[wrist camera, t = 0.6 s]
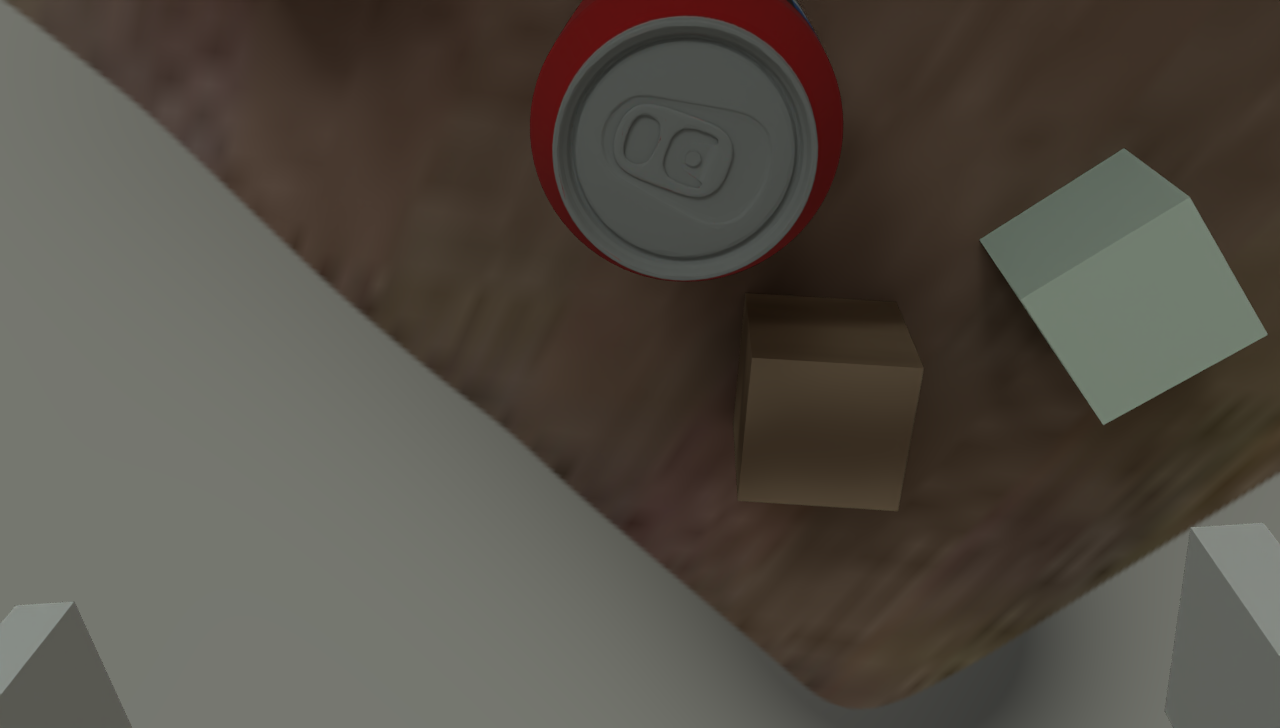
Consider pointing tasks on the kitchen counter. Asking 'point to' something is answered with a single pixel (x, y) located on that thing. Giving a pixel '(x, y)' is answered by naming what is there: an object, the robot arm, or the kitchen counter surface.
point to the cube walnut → (824, 402)
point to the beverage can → (686, 132)
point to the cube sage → (1124, 284)
